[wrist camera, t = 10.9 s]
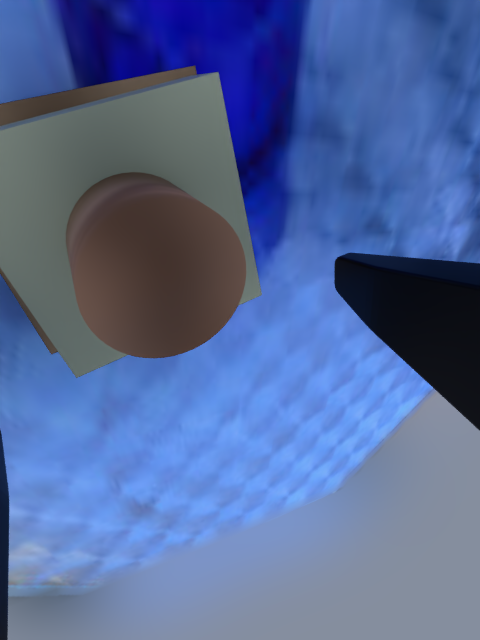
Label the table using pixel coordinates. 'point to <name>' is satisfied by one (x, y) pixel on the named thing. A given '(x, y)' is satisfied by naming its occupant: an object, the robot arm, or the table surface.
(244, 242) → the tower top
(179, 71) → the tower base
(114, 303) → the puck
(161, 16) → the table surface
